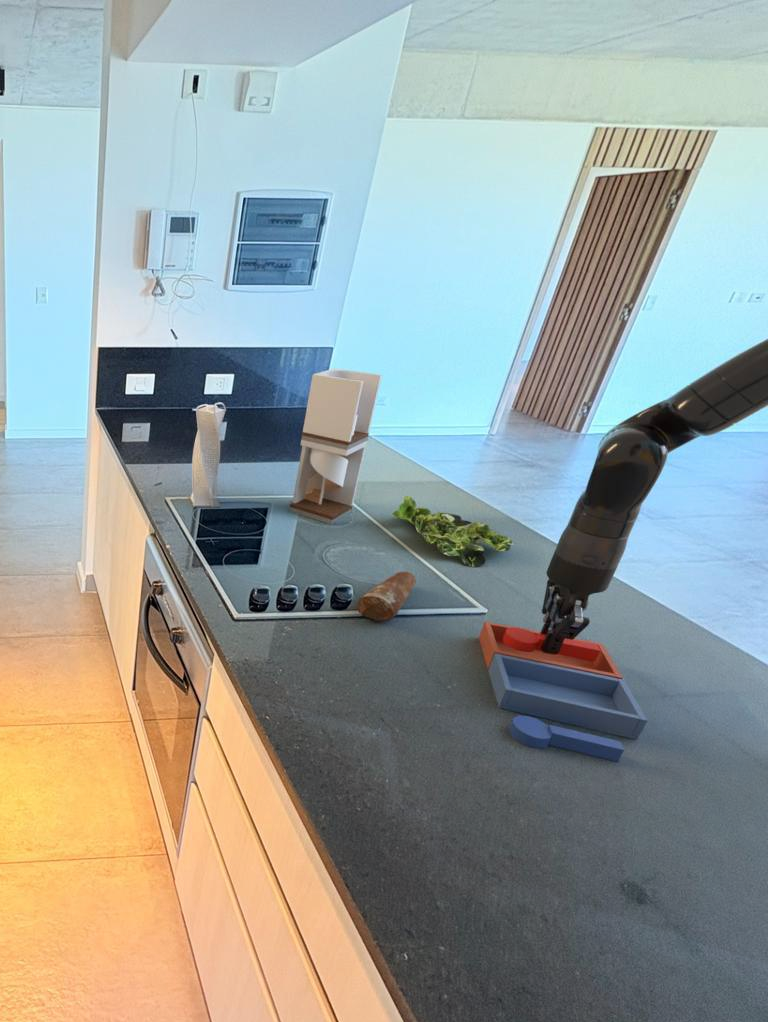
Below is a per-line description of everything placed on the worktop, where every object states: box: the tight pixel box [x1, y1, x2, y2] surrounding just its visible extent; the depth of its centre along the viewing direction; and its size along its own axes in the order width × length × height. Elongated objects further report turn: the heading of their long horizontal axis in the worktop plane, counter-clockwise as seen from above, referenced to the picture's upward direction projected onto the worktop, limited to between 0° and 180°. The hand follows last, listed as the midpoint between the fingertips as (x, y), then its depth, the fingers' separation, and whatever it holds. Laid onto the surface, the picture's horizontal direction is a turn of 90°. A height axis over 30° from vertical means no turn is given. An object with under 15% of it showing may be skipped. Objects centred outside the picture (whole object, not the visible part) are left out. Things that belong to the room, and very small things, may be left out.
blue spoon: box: [508, 715, 625, 762], centre depth 86 cm, size 12×5×2 cm, turn 65°
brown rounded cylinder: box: [356, 571, 417, 622], centre depth 118 cm, size 6×19×6 cm, turn 133°
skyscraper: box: [188, 401, 227, 508], centre depth 159 cm, size 8×8×28 cm
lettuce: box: [392, 495, 515, 568], centre depth 142 cm, size 18×25×7 cm
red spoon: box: [503, 626, 600, 661], centre depth 100 cm, size 12×5×2 cm, turn 66°
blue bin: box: [487, 653, 649, 740], centre depth 93 cm, size 17×10×4 cm, turn 65°
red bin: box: [478, 621, 624, 680], centre depth 101 cm, size 17×10×4 cm, turn 65°
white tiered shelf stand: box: [288, 367, 383, 525], centre depth 151 cm, size 11×11×35 cm
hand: (546, 647), depth 101 cm, fingers closed on red spoon, 2 cm apart
